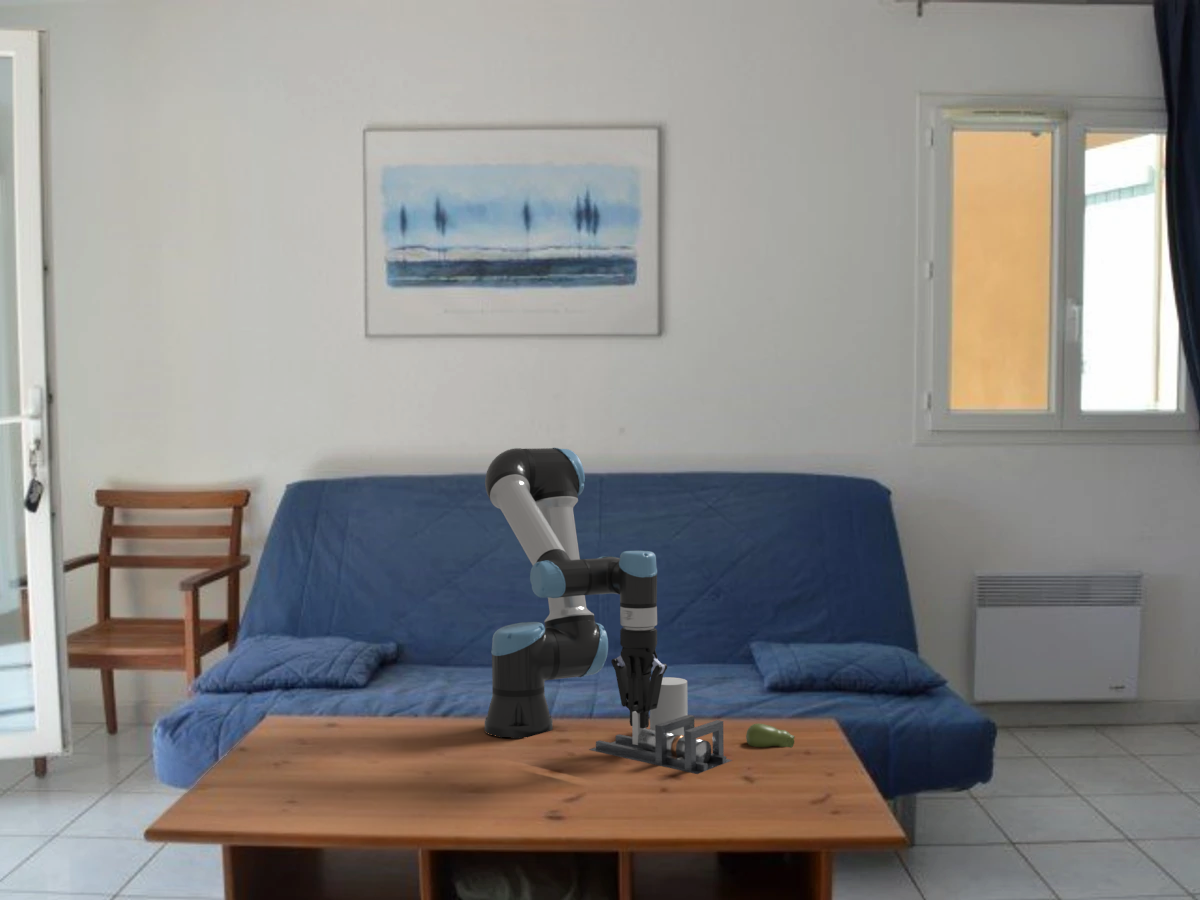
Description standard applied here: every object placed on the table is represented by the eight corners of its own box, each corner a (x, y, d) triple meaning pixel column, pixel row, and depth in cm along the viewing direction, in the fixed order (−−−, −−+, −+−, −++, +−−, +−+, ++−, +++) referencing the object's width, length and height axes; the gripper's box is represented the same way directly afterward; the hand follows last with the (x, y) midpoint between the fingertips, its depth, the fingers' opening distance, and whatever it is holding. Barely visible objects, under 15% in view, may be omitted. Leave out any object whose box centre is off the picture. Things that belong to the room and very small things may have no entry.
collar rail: (588, 754, 223) (588, 712, 223) (625, 742, 233) (625, 702, 233) (697, 779, 206) (697, 734, 206) (732, 765, 215) (732, 722, 215)
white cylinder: (687, 732, 241) (687, 677, 241) (687, 741, 233) (686, 685, 233) (651, 731, 242) (650, 677, 242) (649, 740, 234) (648, 684, 234)
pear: (746, 719, 230) (793, 726, 230) (742, 743, 230) (789, 751, 230) (750, 725, 224) (798, 733, 224) (746, 750, 224) (794, 758, 224)
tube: (636, 749, 220) (639, 727, 221) (649, 751, 224) (652, 729, 225) (696, 763, 211) (700, 740, 212) (709, 764, 214) (712, 741, 215)
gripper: (602, 626, 224) (603, 741, 224) (652, 632, 216) (653, 752, 215) (625, 622, 230) (626, 734, 229) (675, 628, 221) (676, 744, 221)
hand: (639, 743), depth 222 cm, fingers closed
